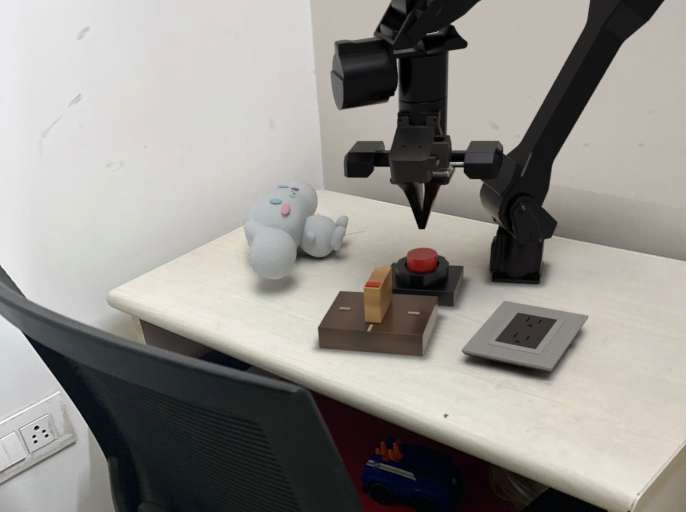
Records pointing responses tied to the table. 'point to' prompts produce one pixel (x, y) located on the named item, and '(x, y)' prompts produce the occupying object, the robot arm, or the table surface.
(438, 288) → the button box
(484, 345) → the electrical outlet
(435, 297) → the panel
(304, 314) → the table surface
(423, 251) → the button
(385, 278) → the knob
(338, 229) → the toy
